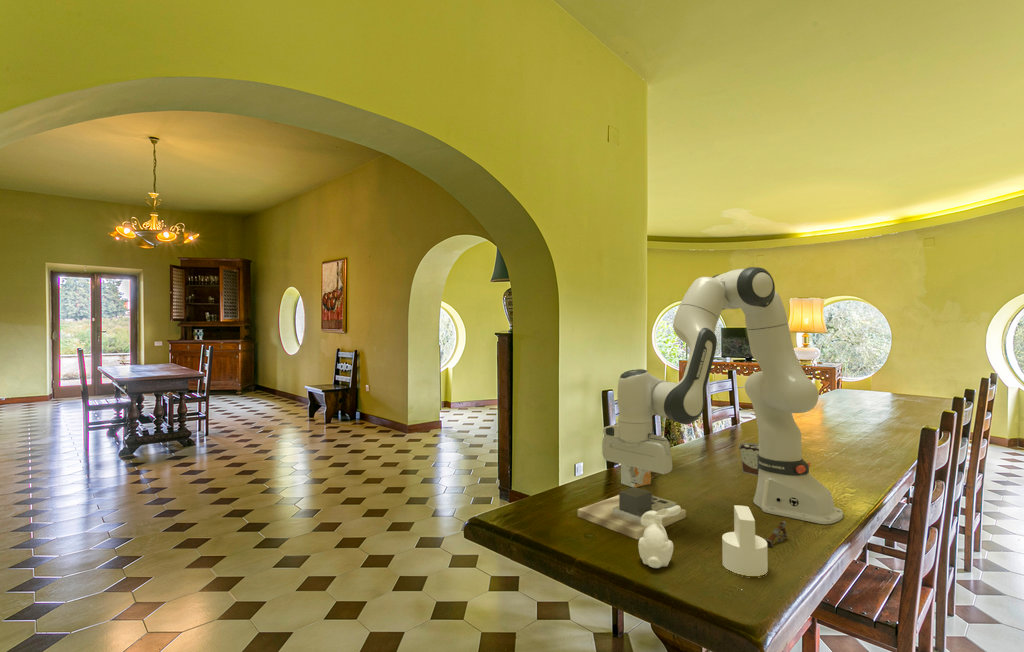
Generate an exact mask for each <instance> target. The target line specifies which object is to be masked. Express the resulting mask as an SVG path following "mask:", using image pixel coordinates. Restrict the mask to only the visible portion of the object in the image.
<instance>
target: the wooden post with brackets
mask: <svg viewBox="0 0 1024 652" xmlns="http://www.w3.org/2000/svg"><path fill="white" fill-rule="evenodd" d="M786 526H787V522H786V521H785V520H783V521H782V520H781V521H779V523H778V525H777V527H776V528H774V530H773V531H772V533H771V535H769V536H768V537H767V538H765V537H764V538H763V539H764V540H766V542H767V547H771V548H773V547H774V545H773V543H774V541H775V539H776V538H777V542H778V543H782V542H783V541H785V539H787V538H789V535H788V532H787V531H786V530H787V529H786ZM781 533H782V534H781Z"/></svg>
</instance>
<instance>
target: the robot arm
mask: <svg viewBox="0 0 1024 652" xmlns="http://www.w3.org/2000/svg"><path fill="white" fill-rule="evenodd" d="M738 309H741V311H742V313H743V314H744V320H745V329H746V333H747V338H748V343H749V344H748V345H749V348H750V349H749V350H750V354H751V356H752V358H753V359H754V360H755V362H756V363H757V364H758V366H759V368H760V369H761V370H760V371H759V370H758V371H755V372H753V373H751V374H750V375H749V376H748V377H747V378H746V380H745V383H744V390H745V393H746V395H747V397H748V398H749V399H750V402H751V404H752V405H751V406H752V409H753V412H754V416H755V419H756V424H757V429H758V431H757V432H758V433H757V434H758V444H759V454H758V455H757V470H758V476H757V485H756V488H755V494H754V497H753V500H752V501H753V503H754V504H755V505H756V506H757V507H759V508H760V509H761V511H762V512H763V513H767V514H771V515H775V516H781V517H785V518H789V519H795V520H799V521H806V522H811V523H815V524H819V525H830V524H834V523H837V522H840V521H841V520H842V519H843V518H844V512H843V509H841V508H839V507H836V506H835V505H834V504H835V503H834V498H833V495H832V493H831V491H830V489H829V488H827V486H825V485H824V484H822V483H821V482H820V481H819V480H818V479H816V478H815V477H814V476H813V475H812V474H811V473H810V467H811V466H812V465H811V464H812V463H811V462H810V461H809V462H808V463H807V462H806V461H805V460H804V459H803V458H802V432H801V429H800V427H799V426H798V425H797V423H796V422H795V419H794V415H793V414H804V413H808V412H810V411H812V410H813V409H814V408H815V407H816V406H817V404H818V403H819V402H818V401H819V390H818V388H817V386H816V384H815V383H813V381H812V380H811V379H810V378H809V377H808V376H807V374H806V372H805V371H804V369H803V367H802V365H801V363H800V361H799V359H798V356H797V354H796V352H795V349H794V346H793V341H792V340H793V339H792V336H791V330H790V327H789V326H790V325H789V321H788V316H787V312H786V308H785V306H784V303H783V301H782V298H781V296H780V294H779V293H778V292H777V291H776V286H775V282H774V279H773V277H772V275H771V273H770V272H769V271H768V270H766V269H765V268H763V267H758V266H756V267H755V266H749V267H746V268H738V269H733V270H732V269H731V270H729V271H728V272H724V273H722V274H716V275H713V276H700V277H698V278H696V279H695V280H694V281H693V282H692V283H691V285H690V286H689V288H688V289H687V290H686V293H684V296H683V298H682V300H681V301H680V304H679V306H678V309H677V311H675V312H676V313H675V315H674V318H673V323H672V327H673V331H674V333H675V334H676V336H677V338H679V340H681V341H682V342H683V343H685V344H686V345H687V346H688V348H689V355H688V359H687V363H686V367H685V368H684V369H685V370H684V373H683V376H682V378H681V379H680V381H678V382H671V381H670V380H669V381H668V380H664V379H660V378H658V377H656V376H654V375H652V374H651V373H650V372H649V371H648V370H647V369H644V368H643V369H642V368H641V369H640V368H638V369H637V368H636V369H630V370H626V371H624V372H623V373H621V374H620V376H619V379H618V381H617V382H618V383H617V407H618V410H619V411H618V412H619V413H618V418H617V422H616V423H615V424H611V425H608V426H605V427H603V428H602V433H603V438H602V443H601V445H602V446H601V451H602V452H601V453H602V457H603V459H604V460H605V461H607V462H610V463H611V462H612V463H616V464H620V465H621V464H623V465H626V470H627V472H628V474H629V476H630V482H631V483H635V484H638V485H641V484H643V477H644V475H645V473H646V471H647V470H648V471H652V472H651V473H653V472H656V473H657V474H661V475H665V474H668V473H670V472H672V470H673V459H672V457H673V456H672V451H671V443H670V441H669V440H668V438H666V437H665V436H664V435H657V434H652V416H653V415H656V416H658V417H661V418H664V419H669V420H672V421H673V422H676V423H679V424H680V425H690V424H692V423H694V422H696V421H697V420H698V419H699V417H701V415H702V414H703V411H704V409H705V402H706V400H705V399H706V391H707V385H708V382H709V379H710V374H711V371H712V366H713V363H714V359H715V356H716V352H717V351H716V350H717V344H718V340H717V339H718V338H717V336H716V327H717V325H718V321H719V319H720V317H721V313H722V311H725V310H738ZM635 467H636V468H637V471H638V472H639V474H638V476H637V475H636V474H635V472H634V468H635ZM656 473H655V474H656Z"/></svg>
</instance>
